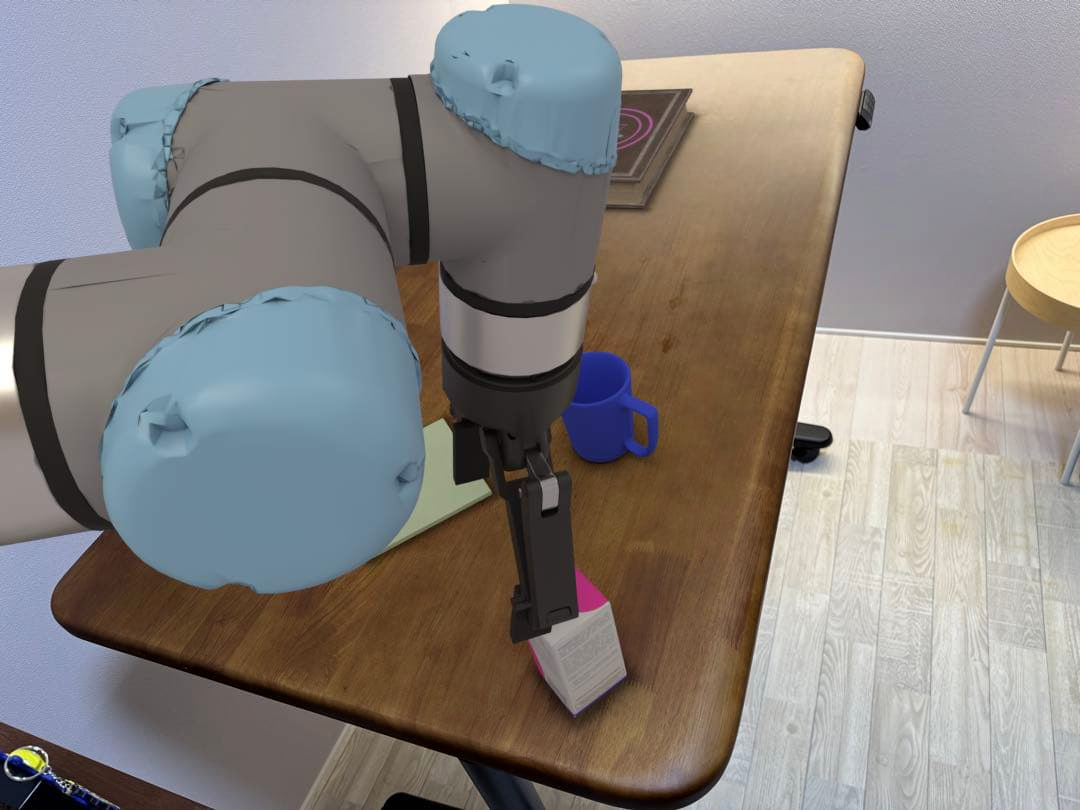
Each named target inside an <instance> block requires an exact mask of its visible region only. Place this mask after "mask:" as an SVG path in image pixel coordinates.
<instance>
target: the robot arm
mask: <svg viewBox="0 0 1080 810" xmlns="http://www.w3.org/2000/svg"><path fill="white" fill-rule="evenodd" d="M433 52H434V53H433V58H432V61H431V62H430V63H429V73H419V74H418V73H416V74H407V77H385V78H384V77H383V78H381V77H380V78H336V79H334V78H333V79H332V78H331V79H292V80H291V79H288V80H287V79H286V80H285V79H284V80H281V79H280V80H240V81H239V80H236V81H233V80H232V81H231V80H230V79H229V78H218V77H205V78H202V79H198V81H195V82H188V83H187V82H186V83H179V84H169V85H159V86H149V87H141V88H137V89H134V90H132V91H129V92H128V93H126V94H125V95H123V96H122V98H120V99H119V101H118V102H117V104H116V105H115V108H114V110H113V112H112V114H111V117H110V122H109V123H110V124H109V134H110V141H111V147H110V148H109V150H108V160H109V161H108V162H109V169H110V171H109V172H110V176H111V184H112V190H113V194H114V199H115V203H116V208H117V212H118V215H119V219H120V221H121V225H122V227H123V231H124V233H125V236H126V240H127V242H128V245H129V246H130V248H131V250H123V251H116V252H107V253H100V254H92V255H91V254H90V255H84V256H76V257H67V258H59V259H51V260H46V261H42V262H34V263H25V264H15V265H5V266H0V547H4V546H10V545H17V544H23V543H28V542H34V541H40V540H45V539H46V540H47V539H52V538H59V537H62V536H70V535H75V534H80V533H86V532H93V531H95V532H104V531H110V530H116V532H117V533H118V535H119V536H120V538H121V539H122V540H123V542H124V543H125V544H126V545H127V547H128V548H129V549H130V550H131V551H132V552H133V554H134V555H136V556H137V557H138V558H139V559H140V560H141V561H142V562H143V563H145V564H146V565H148V566H150V567H151V568H152V569H154V570H155V571H157V572H159V573H161V574H163V575H166V576H167V577H170V578H172V579H173V580H176V581H178V582H181V583H184V584H186V585H189V586H193V587H196V588H200V589H203V590H208V591H212V590H216V589H219V588H221V587H223V586H226V585H227V584H231V585H239V586H243V587H244V586H245V587H249V588H250V589H251V590H252V591H253V592H254V593H256V594H258V595H259V594H260V595H262V594H263V595H265V594H269V595H271V594H272V595H274V594H275V595H277V594H282V593H283V594H284V593H291V592H297V591H301V590H305V589H306V590H307V589H309V588H313V587H317V586H321V585H323V584H326V583H329V582H332V581H334V580H335V579H338V578H340V577H342V576H344V575H346V574H349V573H350V572H353V571H354V570H357V569H358V568H360V567H361V566H363V565H364V564H366V563H368V562H369V561H371V560H372V559H374V558H373V557H375V556H376V555H377V554H378V553H380V552H381V551H382V550H383V549H384V548H386V547H387V546H388V545H389V543H390V542H391V541H392V540H393V539H394V538H395V537H396V536H397V535H398V533H399V532H400V531H401V529H402V528H403V527H404V525H405V524H406V522H407V521H408V520H409V518H410V516H411V514H412V512H413V510H414V508H415V506H416V504H417V501H418V498H419V494H420V491H421V487H422V484H423V477H424V469H425V457H426V452H425V442H424V433H423V428H424V425H423V416H422V408H421V399H420V393H421V391H422V388H423V377H422V368H421V363H420V359H419V354H418V352H417V350H416V348H415V347H414V345H413V344H412V341H411V339H410V337H409V332H408V329H407V323H406V319H405V313H404V309H403V304H402V299H401V296H400V295H401V294H400V290H399V286H398V281H397V276H396V268H397V267H408V266H418V265H427V264H428V262H438V307H439V309H438V310H439V311H438V312H439V328H440V335H441V338H440V339H441V340H440V341H441V342H440V344H441V346H440V347H441V349H440V350H441V381H442V384H441V388H442V391H443V392H444V394H445V396H446V397H447V399H448V401H449V404H448V405H449V408H448V411H449V414H450V416H451V417H452V419H453V420H456V422H452V423H451V424H452V425H451V426H452V433H453V479H454V482H455V485H456V486H457V485H461V484H465V483H469V482H473V481H477V480H481V479H484V480H485V479H489V478H490V475H491V480H492V485H493V490H494V493H495V494H496V495H497V496H499V497H500V498H501V499H502V500H504V504H505V510H506V516H507V521H508V526H509V532H510V533H509V534H510V538H511V544H512V549H513V554H514V559H515V566H516V571H517V576H518V577H517V578H518V582H519V583H518V584H515V585H514V586H513V596H511V597H510V598H509V601H510V604H511V614H510V617H511V618H510V625H509V637H510V640H511V642H512V645H516V644H519V643H522V642H526V641H528V640H529V639H532V638H535V637H538V636H541V635H545V634H548V633H551V630H552V626H553V625H556V624H559V623H562V622H566V621H569V620H572V619H575V618H578V617H579V607H578V598H577V585H576V573H575V566H576V564H575V563H576V562H575V551H574V550H575V549H574V540H573V539H574V538H573V528H572V527H573V526H572V515H571V514H572V513H571V507H572V495H573V479H572V477H571V475H570V472H569V471H568V470H567V469H563V470H558V471H554V465H553V459H552V454H551V453H552V452H551V448H550V447H551V442H552V440H553V435H552V429H551V426H552V425H553V423H554V422H556V420H558V419H559V418H560V417H561V414H562V413H563V412H564V411H565V410H566V409H567V408H568V407H569V405H570V404H571V402H572V401H573V398H574V396H575V393H576V390H577V384H578V378H579V372H580V366H581V359H582V353H584V338H585V334H586V328H587V327H586V326H587V322H588V321H587V320H588V315H589V307H590V301H591V295H592V288H593V286H595V285H597V283H598V282H597V281H598V280H599V279H598V278H599V276H598V273H597V272H596V266H597V265H596V262H597V256H598V250H599V245H600V239H601V234H602V228H603V223H604V218H605V212H606V208H607V207H606V202H607V197H608V191H609V186H610V180H611V175H612V169H613V167H614V166H615V165H616V161H617V155H618V148H617V140H618V130H619V121H620V111H621V91H622V87H623V66H622V62H621V61H622V60H621V58H620V55H619V52H618V50H617V49H616V48H615V46H613V44H612V43H611V41H610V39H609V38H608V36H607V35H606V33H604V32H603V31H602V30H601V29H600V28H599V27H597V26H595V25H594V24H593V23H591V22H589V21H587V20H586V19H584V18H581V17H579V16H577V15H575V14H572V13H569V12H567V11H564V10H561V9H556V8H552V7H548V6H543V5H537V4H536V5H535V4H527V3H525V4H524V3H501V4H492V5H490V6H489V7H487V8H486V9H485V10H465V11H463V12H460V13H458V14H456V15H455V16H453V17H452V18H450V19H449V20H448V21H447V22H445V24H444V25H443V26H442V27H441V28H440V30H439V32H438V34H437V35H436V38H435V42H434V51H433ZM524 469H525V471H526V474H527V476H523V477H520V478H519V477H518V478H515V479H511V480H507V479H506V475H505V472H508V473H511V472H516V471H521V470H524ZM376 557H377V556H376ZM376 557H375V558H376Z"/></svg>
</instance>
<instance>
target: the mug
mask: <svg viewBox="0 0 1080 810" xmlns="http://www.w3.org/2000/svg"><path fill="white" fill-rule="evenodd" d="M632 388H633V387H632V373H631V368H630V366H629V365H628V363H627V362H626V361H625V360H624V359H623V358H621V356H619V355H617V354H615V353H612V352H609V351H608V352H607V351H601V350H599V351H597V350H596V351H595V350H593V351H586V352H583V353H582V359H581V366H580V372H579V378H578V384H577V390H576V393H575V396H574V398H573V401H572V402H571V404H570V405H569V407H568V408H567V409H566V410H565V411H564V412H563V413H562V414H561V415H560V417H561V420H562V422H563V426H564V428H565V431H566V433H567V436H568V438H569V441H570V445H571V446H572V449H573V450H574V451H575V452H576V453H577V454H578V455H579V456H580V457H581V458H583V459H584V460H586V461H588V462H592V463H597V464H598V463H610V462H612V461H615V460H617V459H619V458H621V457H622V456H623V455H625V454H626V453H627V452H628V451H629V452H630V453H632V454H634V456H637V457H639V458H643V459H644V458H649V457H650V456H651V455H652V454H653V453H654V452H655V451H656V449H657V447H658V444H659V443H658V442H659V435H660V434H659V431H660V429H659V426H660V425H659V422H660V421H659V411H658V408H657V407H656V406H654V405H652V404H650V403H648V402H646V401H645V400H642V399H641V398H638V397H636V396H634V395H633V389H632ZM634 412H635V413H636V414H638V415H640V416H642V417H644V419H646V424H647V447H646V446H643V445H641V444H640V443H638V442H637V441H636V440H635V439H634V437H635V425H634V423H635V422H634Z"/></svg>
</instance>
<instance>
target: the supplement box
mask: <svg viewBox="0 0 1080 810" xmlns="http://www.w3.org/2000/svg"><path fill="white" fill-rule="evenodd" d="M575 573H576V585H577V598H578V607H579V617H578V618H575V619H572V620H569V621H566V622H562V623H559V624H556V625H553V626H552V630H551V633H548V634H545V635H541V636H538V637H535V638H532V639H529V640H527V643H528V645H529V648H530V651H531V653H532V657H533V660H534V662H535V664H536V667H537V670H538V672H539V674H540V675H541V677H542V678H543V679H544V681H545V682H546V683H547V685H548V686H549V688H551V690H552V691H553V693H554V694H555V695H556V696H557V698H558V699H559V700H560V702H561V704H563V705H564V707H565V708H566V709H567V711H568V712H569V713H570V714H571V716H572V717H573V718H574V719H575V718H578V717H579V716H580V715H582V714H583V713H584V712H585V711H587V710H588V709H589V708H590V707H592V706H593V705H594V704H596V703H597V702H598V701H599V700H600V699H602V698H603V697H605V696H606V695H607V694H608V693H610V692H611V691H612V690H614V689H615V688H616V687H618V686H619V685H620V684H621V683H623V682H625V680H626V679H627V678H628V675H627V674H628V673H627V669H626V666H625V660H624V656H623V652H622V648H621V643H620V640H619V635H618V630H617V627H616V621H615V618H614V613H613V610H612V605H611V602H610V601H609V600H608V599H607V597H605V596H604V594H603V593H602V592H601V591H600V590H599V589H598V588H597V587H596V586H595V585H594V583H592V582H591V581H590V580H589V579H588V578H587V576H585V574H584V573H583V572H582V571H581V570H580V569H579V568H578V567H577V566H576V565H575Z"/></svg>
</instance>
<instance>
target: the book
mask: <svg viewBox="0 0 1080 810" xmlns="http://www.w3.org/2000/svg"><path fill="white" fill-rule="evenodd" d="M693 92H694V89H693V88H692V87H689V88H686V87H685V88H662V89H660V88H659V89H631V90H630V89H629V90H627V89H625V90H621V111H620V121H619V130H618V140H617V148H618V155H617V161H616V165H615V166H614V167H613V169H612V175H611V180H610V186H609V191H608V197H607V202H606V207H605V208H608V209H609V208H611V209H612V208H614V209H615V208H616V209H645V207H646V205H647V204H648V201H649V200H650V198H651V196H652V194H653V193H654V190H655V188H656V187H657V185H658V183H659V181H660V180H661V178H662V176H663V174H664V172H665V171H666V168H667V166H668V165H669V163H670V161H671V160H672V158H673V156H674V153H675V152H676V150H677V147H678V146H679V144H680V143H681V141H682V139H683V137H684V136H685V133H686V131H687V130H688V128H689V126H690V124H691V123H692V121H693V118H694V117H695V112H694V111H691V112H690V111H689V112H688V108H687V103H688V100H689V99H690V97H691V95H692V94H693Z"/></svg>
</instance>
